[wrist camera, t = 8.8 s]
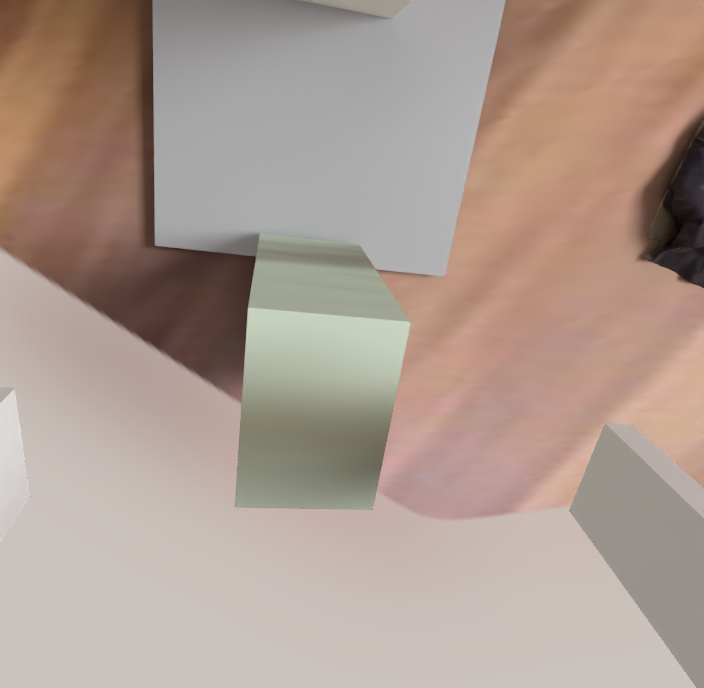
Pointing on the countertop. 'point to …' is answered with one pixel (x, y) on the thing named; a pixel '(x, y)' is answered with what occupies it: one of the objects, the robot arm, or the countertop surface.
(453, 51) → the block
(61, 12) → the countertop surface
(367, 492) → the pale green block
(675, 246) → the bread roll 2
